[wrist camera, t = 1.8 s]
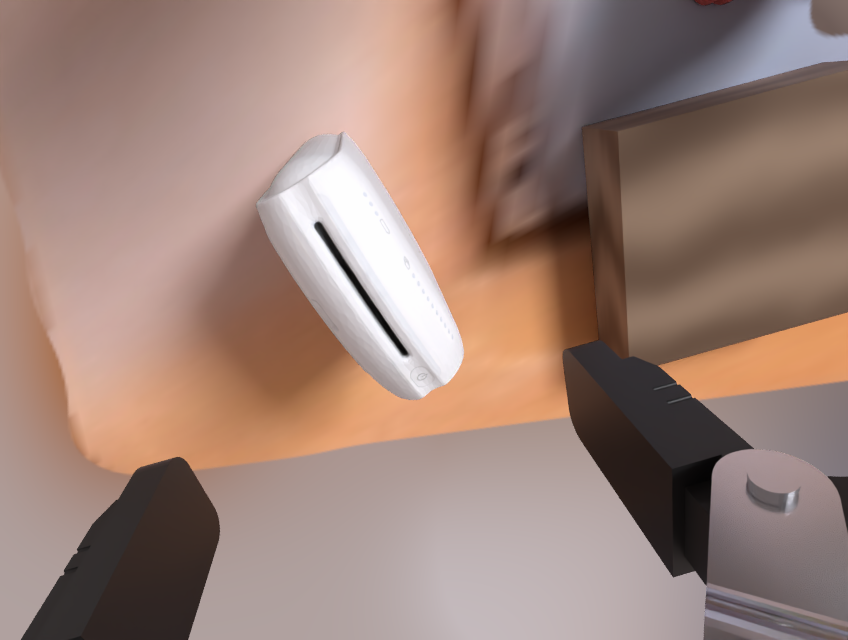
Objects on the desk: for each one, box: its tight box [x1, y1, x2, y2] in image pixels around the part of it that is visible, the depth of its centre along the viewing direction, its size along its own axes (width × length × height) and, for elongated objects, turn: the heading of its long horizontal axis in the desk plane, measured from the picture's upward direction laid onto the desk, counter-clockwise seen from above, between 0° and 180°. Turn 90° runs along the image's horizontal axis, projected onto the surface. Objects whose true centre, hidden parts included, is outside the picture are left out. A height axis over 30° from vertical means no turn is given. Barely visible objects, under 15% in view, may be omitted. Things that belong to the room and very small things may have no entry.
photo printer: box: [256, 132, 464, 400], centre depth 21 cm, size 10×4×12 cm, turn 29°
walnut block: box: [582, 61, 848, 365], centre depth 28 cm, size 14×14×4 cm
